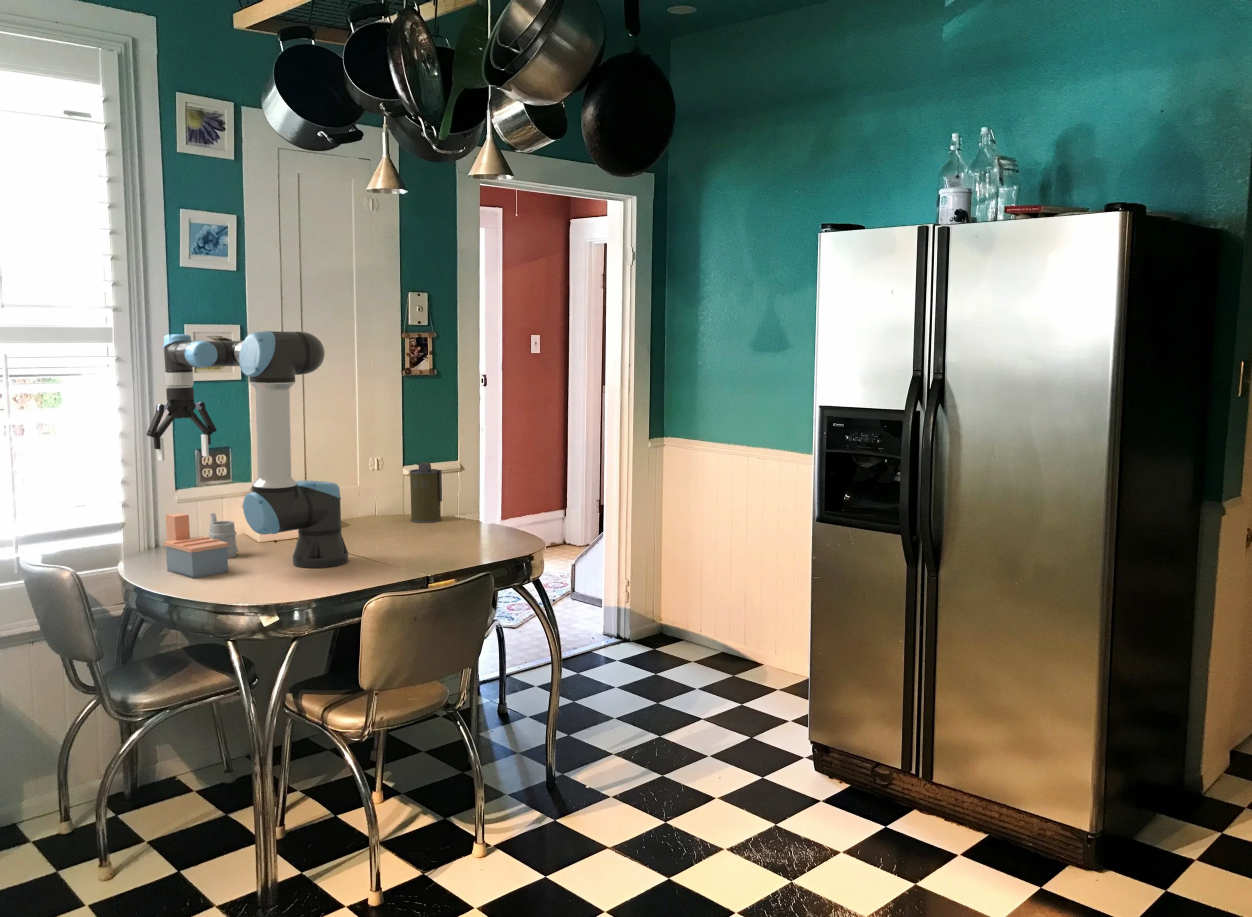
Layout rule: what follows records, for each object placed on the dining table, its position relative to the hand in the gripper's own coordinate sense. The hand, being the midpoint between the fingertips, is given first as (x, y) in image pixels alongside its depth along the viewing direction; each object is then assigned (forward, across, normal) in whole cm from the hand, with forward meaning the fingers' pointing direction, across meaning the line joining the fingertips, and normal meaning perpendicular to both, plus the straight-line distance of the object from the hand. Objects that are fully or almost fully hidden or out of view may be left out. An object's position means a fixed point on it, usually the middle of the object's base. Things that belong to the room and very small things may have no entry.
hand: (183, 458), depth 310 cm
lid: (+21, +13, +29) cm, 38 cm away
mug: (+28, -1, +16) cm, 32 cm away
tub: (+27, +13, +32) cm, 44 cm away
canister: (+28, -77, +16) cm, 84 cm away
